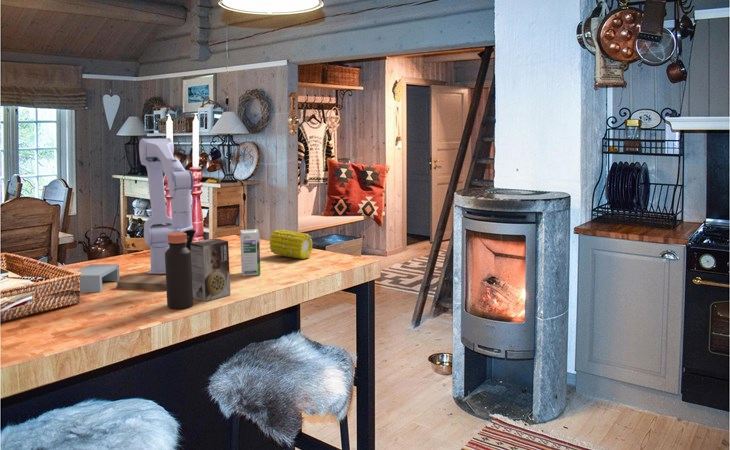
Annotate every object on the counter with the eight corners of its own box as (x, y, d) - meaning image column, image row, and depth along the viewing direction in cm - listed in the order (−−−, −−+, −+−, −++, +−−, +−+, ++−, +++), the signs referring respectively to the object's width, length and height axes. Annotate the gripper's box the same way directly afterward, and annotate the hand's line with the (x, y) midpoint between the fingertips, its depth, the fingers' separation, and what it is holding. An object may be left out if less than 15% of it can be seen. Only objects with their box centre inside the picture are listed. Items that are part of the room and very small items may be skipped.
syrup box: (242, 276, 211) (241, 232, 209) (241, 272, 217) (240, 229, 214) (260, 275, 212) (259, 231, 210) (258, 271, 218) (257, 228, 216)
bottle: (162, 306, 177) (158, 234, 173) (183, 301, 182) (179, 230, 179) (177, 311, 172) (174, 237, 169) (198, 305, 178) (195, 233, 175)
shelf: (119, 279, 206) (118, 264, 205) (100, 292, 191) (99, 275, 190) (91, 279, 206) (90, 264, 205) (70, 291, 191) (68, 275, 191)
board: (179, 285, 201) (178, 277, 201) (167, 292, 193) (167, 284, 193) (130, 283, 203) (130, 275, 203) (117, 290, 196) (116, 282, 195)
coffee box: (217, 291, 192) (215, 237, 190) (231, 295, 188) (229, 240, 186) (191, 297, 185) (189, 242, 183) (205, 301, 181) (203, 245, 179)
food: (317, 257, 240) (317, 230, 238) (295, 263, 231) (294, 235, 229) (288, 252, 249) (287, 226, 248) (265, 257, 240) (264, 230, 238)
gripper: (173, 208, 201) (175, 251, 203) (161, 215, 186) (164, 261, 189) (196, 208, 201) (198, 251, 203) (186, 215, 187) (188, 261, 189)
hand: (183, 256), depth 196 cm, fingers open, 7 cm apart
